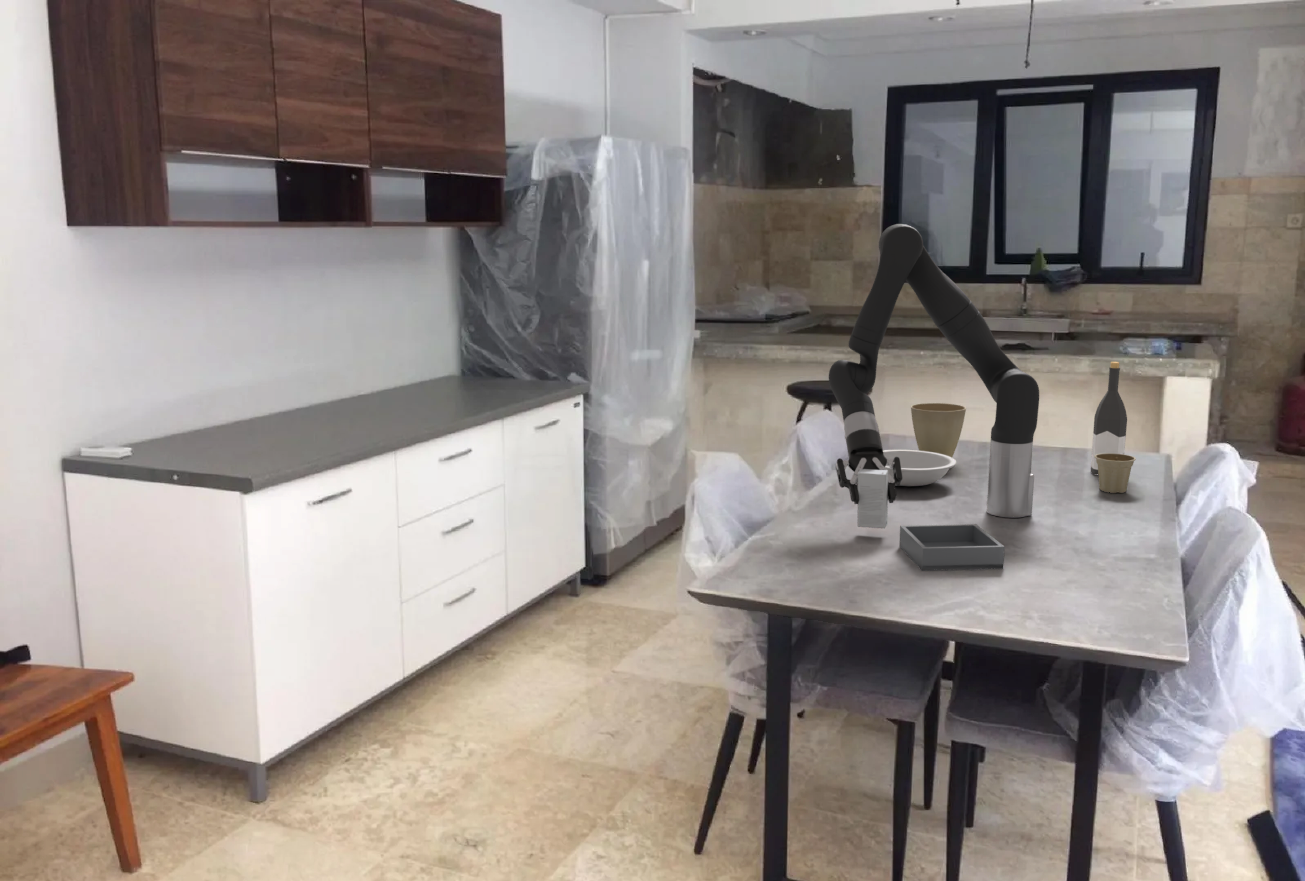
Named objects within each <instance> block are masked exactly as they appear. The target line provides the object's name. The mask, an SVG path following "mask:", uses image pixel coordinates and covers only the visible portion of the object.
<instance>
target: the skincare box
mask: <svg viewBox="0 0 1305 881" xmlns="http://www.w3.org/2000/svg"><path fill="white" fill-rule="evenodd" d="M857 488H858V494H859V503H858V504H857V527H858V528H872V529H873V528H874V529H886V527H887V525H888V519H889V516H888V514H889V513H888V512H889V510H888V509H889V506H888V505H889V499H888V470H871V469H862V470H860V471H859V472H858V481H857Z"/></svg>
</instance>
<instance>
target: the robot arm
mask: <svg viewBox="0 0 1305 881" xmlns="http://www.w3.org/2000/svg"><path fill="white" fill-rule="evenodd" d="M878 250H879V254H880V258H879V264H878V269H877V273H876V275H875V278H874V282H873V283H872V286H871V289H870V291H869V293H868V295H867V297H866V299H865V301H864V303H863V305H862V306H861V309H860V311H859V314H858V316H857V317H856V318H857V319H856V321H855V323H854V326H853V329H852V332H851V335H850V337H849V341H848V348H849V349H850V350H851V351H853V352H855V353H857V354H858V355H859V363H858V362H854V361H850V360H846V359H839V360H837V361H835V362H834V363H833V364H832V365H831V366H830V368H829V371H828V372H829V373H828V384H829V386H830V389H831V392H832V393H833V395H834V397H835V399H836V401H837V404H839V406H840V408H841V412H842V413H841V415H842V420H843V431H844V432H843V433H844V440H845V442H846V443H845V444H846V448H847V454H848V459H846V460H844V459H842V458H838V459H836V463H835V471H836V475H837V480H838V484H839V487H840V488H846V489H848V491H849V496H850V500H851V502H852V503H853V504H854V505H858V503H859V494H858V472H859V471H860V470H862V469H871V470H887V469H886V468H885V466H886V465H888V466H889V467H890V469H891V470H892V469H893V476H894V478H892V476H891V475H890V474H889V472H888V504H894V501H896V498H897V490H896V487H899V486H901V485H900V483H901V481H902V471H901V465H900V459H899V457H895V458H894V459H886V457H885V456H884V454H883V450H884V449H883V444H882V439H881V438H882V437H881V433H880V429H879V424H878V421H877V418H876V415H875V414H876V413H875V408H874V405H873V404H874V403H873V401H872V398H871V397H870V396H869V395H868V393H869V392H870V391H872V389H873V388H874V385H875V383H876V378H877V368H878V367H877V366H878V359H879V350H880V347H881V345H882V342H883V340H884V337H885V334H886V331H887V329H888V326H889V324H890V320H891V317H892V314H893V311H894V309H895V306H896V303H897V300H898V298H899V296H900V294H901V291H902V290H903V287H904V285H905V283H907V285H909V286H910V288H911V289H912V290H913V292H914V294H915V295H916V297H917V298H918V301H919V302H920V304H921V305H922V307H923V308H924V310H925V312H926V313H927V315H928V316H929V317H930V319H931V320H932V322H933V323H934V324H935V326H936V328H938V329H939V331H940V332H941V333H942V335H943V336H944V338H945V339H946V340H948V342H949V343H950V344H951V346H953V348H954V349H955V350H956V351H957V352H958V353H959V354H960V355H961V356H962V357H963V359H965V360H966V361H967V362H968V363H969V364H970V365H971V367H972V368H973V369H974V370H975V372H976V373H977V375H978V376H979V377H980V379H981V381H982V382H983V384H984V386H985V387H986V389H987V391H988V393H989V394H990V396H991V398H992V399H993V401H994V402H995V403H996V406H995V407H996V408H995V417H994V418H995V419H994V424H993V426H992V427H991V431H990V446H989V464H988V477H987V478H988V481H987V495H986V496H987V498H986V499H987V501H986V512H987V514H988V515H992V516H996V517H1000V518H1010V519H1011V518H1015V519H1016V518H1023V517H1027V516H1028V517H1029V516H1032V515H1033V503H1034V502H1033V500H1034V488H1035V487H1034V486H1035V475H1034V474H1033V473H1032V462H1033V446H1034V437H1035V436H1034V435H1035V432H1036V429H1037V426H1038V416H1039V407H1040V406H1039V404H1040V389H1039V384H1038V382H1037V381H1036V379H1035V378H1034V377H1033V376H1032V375H1030V374H1029V373H1026V372H1025V371H1023V370H1021V369H1020V368H1019V367H1018V366H1017V365H1016V364H1015V363H1014V362H1013V361H1012V360H1011V359H1010V358H1009V357H1008V356H1007V355H1006V353H1005V352H1004V351H1003V350H1002V349H1001V348H1000V345H999V344H998V342H997V341H996V339H995V337H994V335H993V333H992V331H991V329H990V327H989V325H988V322H987V321H986V319H985V318H984V317H983V315H982V313H981V311H980V310H979V309H978V308H977V307H976V305H975V304H974V303H973V302H972V300H971V299H970V298H969V296H968V295H967V294H966V293H965V292H964V291H963V290H962V289H961V288H960V287H959V286H958V285H957V284H956V283H955V282H954V281H953V280H952V279H951V278H950V277H949V276H948V275H947V274H946V273H944V272H943V270H941V268H940V267H939V266H938V265H937V264H936V262H934V259H933V258H932V257H931V254H929V252H928V250H927V249H926V248H925V246H924V241H923V237H922V235H921V233H920V232H919V231H918V229H916V228H915V227H913V226H911V225H908V224H903V223H896V224H893V225H890V226H888V227H887V228H886V229H885V230H883V232H882V233H881V235H880V237H879V241H878ZM847 467H848V468H849V469H850V470H851V471H852V472H853V475H852V477H851V479H848V477H847V473H846V470H847Z"/></svg>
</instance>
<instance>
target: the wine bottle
mask: <svg viewBox="0 0 1305 881" xmlns="http://www.w3.org/2000/svg"><path fill="white" fill-rule="evenodd" d="M1108 370H1109V372H1108V386H1107V391H1106V392H1105V395H1104V396H1103V397H1102V399H1101V400H1100V402H1099V404H1098V406H1097V408H1096V411H1095V414H1094V421H1093V432H1092V433H1093V434H1092V446H1091V447H1092V448H1091V459H1090V460H1091V461H1090V473H1091V472H1092V473H1093V474H1098V464H1097V462H1096V458H1095V455H1097V454H1103V453H1114V454H1124V455H1125V451H1126V439H1127V438H1126V437H1127V426H1128V415H1127V411H1126V407H1125V403H1124V401H1123V399H1122V398H1121V395H1120V393H1119V383H1120V382H1119V380H1120V371H1121V368H1120V362H1119V361H1110V366H1109V369H1108ZM1092 473H1091V474H1092ZM1093 474H1092V475H1093Z"/></svg>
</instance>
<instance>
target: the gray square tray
mask: <svg viewBox="0 0 1305 881" xmlns="http://www.w3.org/2000/svg"><path fill="white" fill-rule="evenodd" d="M898 545H899V548H900V549H901V550H902V551H903V552H904V554H906V555H907V556H908V558H910V560H911V561H912V562H913V563H914V564H915V565H916V566H917V567H918V568H919V569H920V570H921V572H924V571H925V572H927V571H932V572H933V571H968V570H969V571H970V570H971V571H974V570H978V569H979V570H1004V565H1005V564H1004V563H1005V562H1004V560H1005V545H1003V544H1002V543H1001V542H999V541H998V540H997V539H995V538H994V537H993V536H992V535H990V534H989V533H988V532H987V531H986V530H984V529H983V528H981V527H980V526H979V525H978V524H976V523H970V524H969V523H966V524H963V523H962V524H961V523H959V524H921V525H920V524H917V525H916V524H915V525H912V524H911V525H910V524H909V525H900V526H899V543H898ZM979 570H978V571H979Z"/></svg>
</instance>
